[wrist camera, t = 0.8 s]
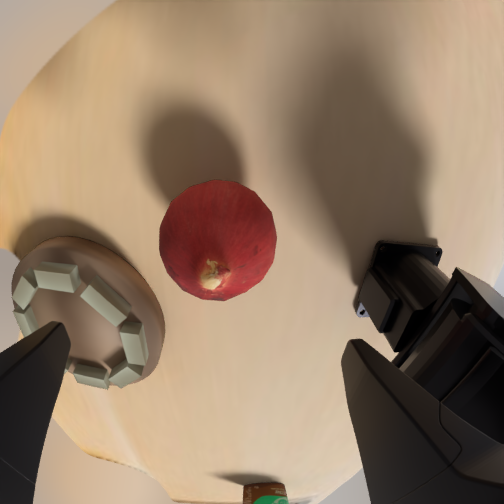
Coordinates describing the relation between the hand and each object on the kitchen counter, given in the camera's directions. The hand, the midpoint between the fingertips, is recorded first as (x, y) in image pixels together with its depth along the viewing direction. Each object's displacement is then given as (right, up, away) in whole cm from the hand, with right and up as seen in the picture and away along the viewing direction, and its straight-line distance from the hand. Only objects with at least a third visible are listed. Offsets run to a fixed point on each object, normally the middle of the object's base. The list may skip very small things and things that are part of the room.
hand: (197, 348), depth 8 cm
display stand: (-12, -2, +13) cm, 18 cm away
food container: (+5, -44, +35) cm, 56 cm away
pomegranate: (0, +5, +10) cm, 11 cm away
